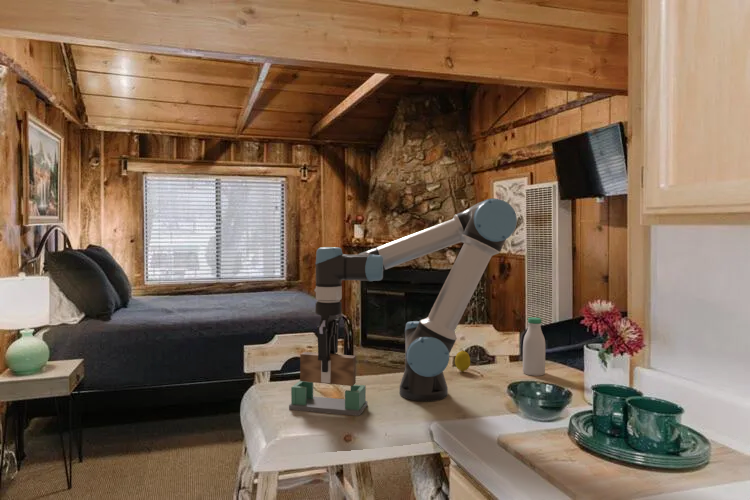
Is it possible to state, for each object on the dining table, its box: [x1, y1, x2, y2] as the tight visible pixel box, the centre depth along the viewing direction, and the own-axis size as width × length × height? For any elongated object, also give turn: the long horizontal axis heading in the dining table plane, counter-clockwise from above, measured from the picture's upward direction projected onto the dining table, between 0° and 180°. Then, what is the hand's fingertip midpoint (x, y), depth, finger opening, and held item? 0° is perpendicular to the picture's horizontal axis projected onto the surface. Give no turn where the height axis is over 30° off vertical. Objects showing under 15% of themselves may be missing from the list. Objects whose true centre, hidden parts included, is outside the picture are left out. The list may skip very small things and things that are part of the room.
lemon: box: [454, 349, 471, 373], centre depth 191 cm, size 6×6×8 cm
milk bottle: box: [522, 316, 546, 377], centre depth 190 cm, size 8×8×20 cm
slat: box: [299, 351, 357, 387], centre depth 154 cm, size 16×3×8 cm, turn 76°
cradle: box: [288, 380, 368, 417], centre depth 154 cm, size 21×9×6 cm, turn 76°
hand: (328, 380), depth 154 cm, fingers closed on slat, 3 cm apart
